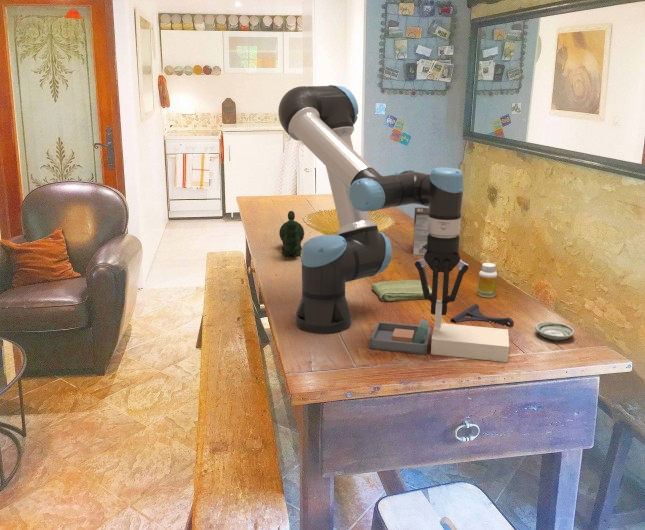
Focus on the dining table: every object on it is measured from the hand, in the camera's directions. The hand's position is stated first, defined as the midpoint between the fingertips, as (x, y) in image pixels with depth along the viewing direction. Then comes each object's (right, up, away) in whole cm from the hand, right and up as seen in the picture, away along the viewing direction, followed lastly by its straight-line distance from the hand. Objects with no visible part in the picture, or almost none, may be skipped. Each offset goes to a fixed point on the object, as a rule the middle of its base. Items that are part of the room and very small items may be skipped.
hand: (437, 326), depth 157 cm
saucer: (+31, -4, +7) cm, 32 cm away
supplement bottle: (+22, +6, +37) cm, 44 cm away
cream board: (+8, -6, 0) cm, 10 cm away
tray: (-9, -4, +4) cm, 10 cm away
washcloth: (-4, +6, +38) cm, 39 cm away
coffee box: (+9, +20, +83) cm, 86 cm away
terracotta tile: (-8, -2, +3) cm, 9 cm away
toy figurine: (-40, +19, +81) cm, 92 cm away
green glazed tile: (-3, -2, +1) cm, 4 cm away
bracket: (+17, -1, +18) cm, 24 cm away
